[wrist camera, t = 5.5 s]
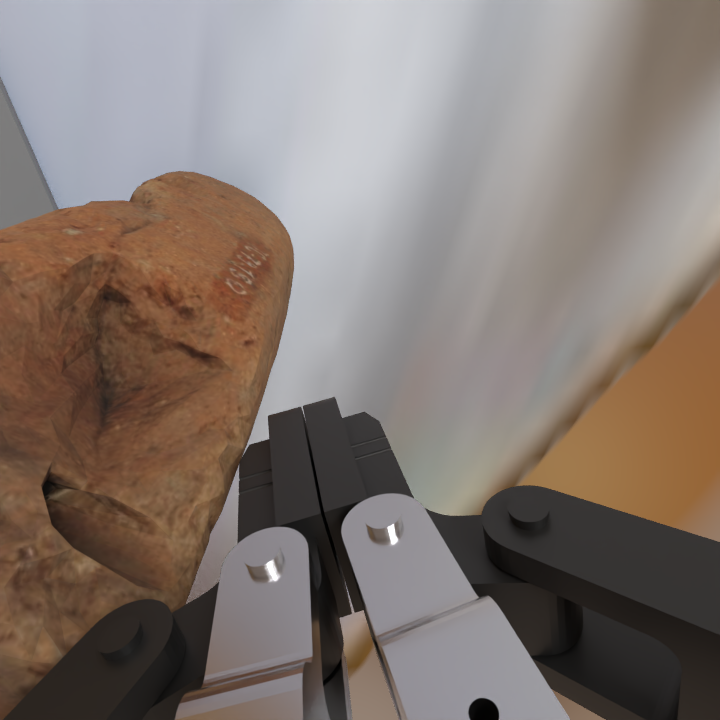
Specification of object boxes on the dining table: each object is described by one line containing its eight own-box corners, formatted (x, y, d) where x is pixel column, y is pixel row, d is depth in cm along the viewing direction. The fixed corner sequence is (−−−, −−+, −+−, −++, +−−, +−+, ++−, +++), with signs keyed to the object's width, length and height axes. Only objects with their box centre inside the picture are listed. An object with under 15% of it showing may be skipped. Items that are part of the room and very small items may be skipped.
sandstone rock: (219, 404, 28) (16, 953, 10) (78, 336, 26) (-494, 873, 8) (325, 226, 24) (302, 600, 6) (169, 131, 22) (-538, 272, 4)
